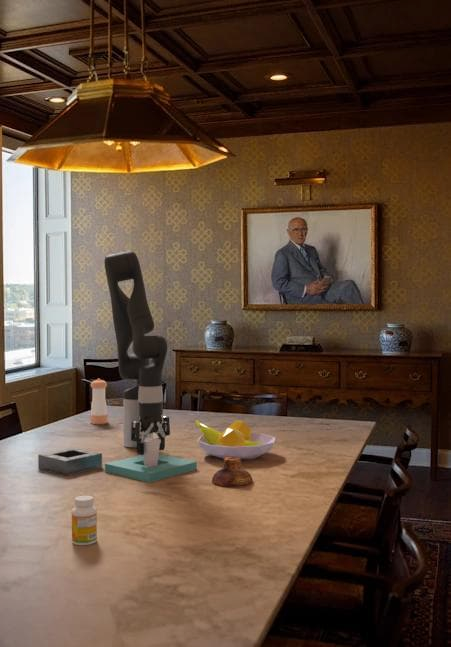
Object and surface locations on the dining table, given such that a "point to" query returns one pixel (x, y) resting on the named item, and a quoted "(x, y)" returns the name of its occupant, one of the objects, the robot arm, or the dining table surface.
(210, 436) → the fruit bowl
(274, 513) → the dining table surface
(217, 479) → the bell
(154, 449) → the smoothie
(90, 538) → the supplement bottle
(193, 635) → the dining table surface
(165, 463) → the low socket
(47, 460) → the tall socket
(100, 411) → the pepper shaker
